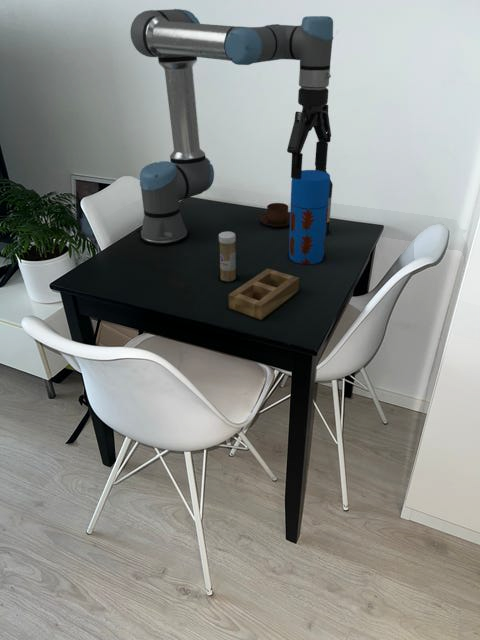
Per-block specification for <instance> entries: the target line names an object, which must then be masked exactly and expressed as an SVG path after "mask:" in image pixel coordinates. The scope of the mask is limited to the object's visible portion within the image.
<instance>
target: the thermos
mask: <svg viewBox="0 0 480 640" xmlns="http://www.w3.org/2000/svg"><path fill="white" fill-rule="evenodd" d="M330 180H331V174H330V173H328V172H327V173H326V172H324V171H319V170H315V169H304V170H303V169H302V174H301V179H295V178H291V183H290V185H291V186H290V206H289V207H290V211H289V214H290V225H289V231H288V232H289V235H288V236H289V237H288V257H289V259H290V260H291V261H292V262H293V263H297V264H301V265H313V264H314V265H315V264H319V263H320V262H322V261H323V260H324V256H325V249H326V239H327V234H326V228H327V215H328V202H329V191H330Z"/></svg>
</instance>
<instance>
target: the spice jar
mask: <svg viewBox="0 0 480 640" xmlns="http://www.w3.org/2000/svg"><path fill="white" fill-rule="evenodd" d="M236 241H237V239H236V233H235V232H233V231H222V232H220V233H219V234H218V242H219V270H220V280H221V281H223V282H227V283H229V282H233V281H235V280H236V279H237V276H236V274H237V273H236V272H237V271H236V269H237V268H236V267H237V265H236V264H237V263H236V262H237V261H236V257H237V256H236V254H237V253H236Z"/></svg>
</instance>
